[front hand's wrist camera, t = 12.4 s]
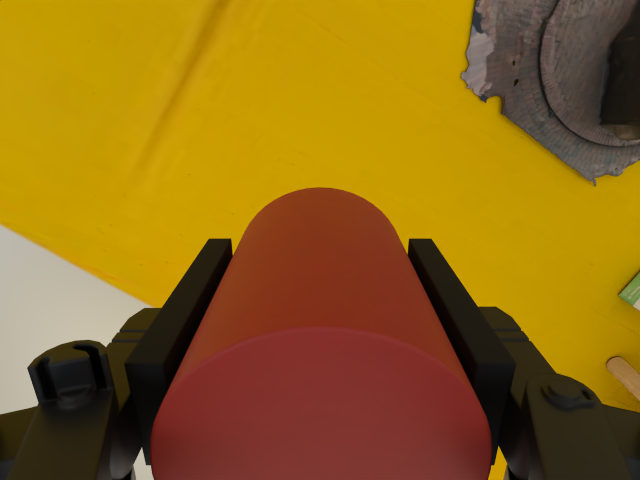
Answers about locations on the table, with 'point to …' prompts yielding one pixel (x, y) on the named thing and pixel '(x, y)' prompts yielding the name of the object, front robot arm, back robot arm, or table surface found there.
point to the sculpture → (564, 75)
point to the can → (320, 361)
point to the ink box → (632, 292)
